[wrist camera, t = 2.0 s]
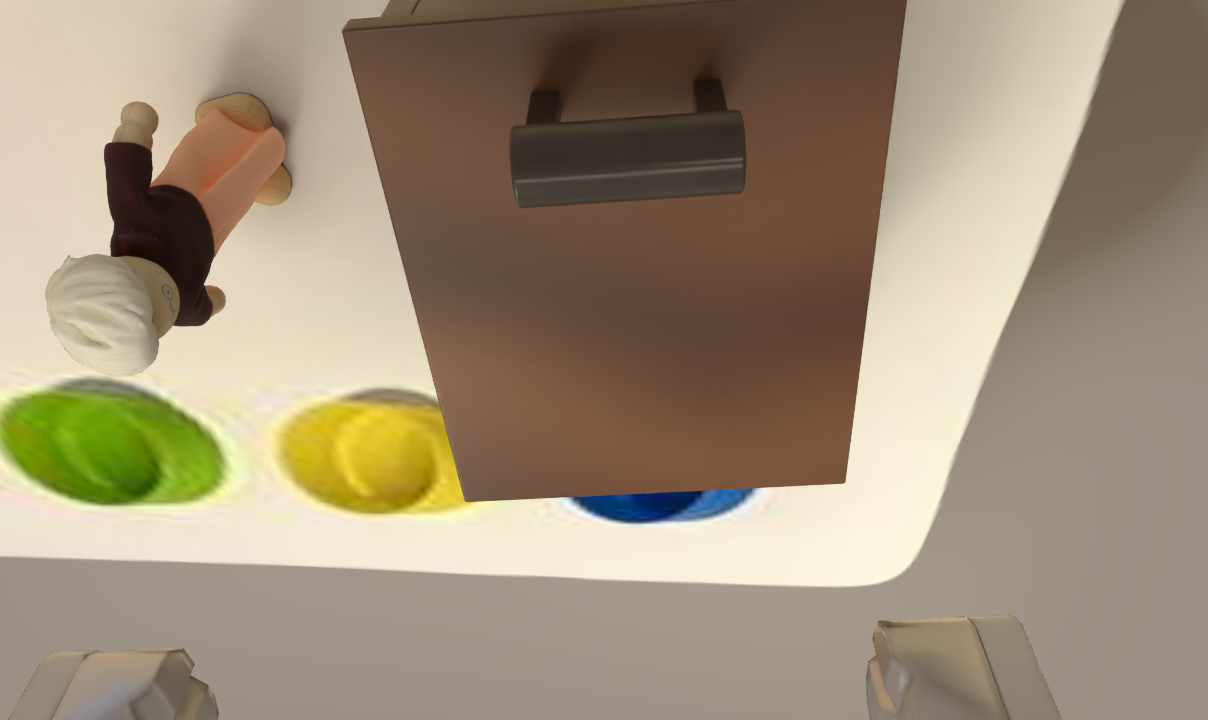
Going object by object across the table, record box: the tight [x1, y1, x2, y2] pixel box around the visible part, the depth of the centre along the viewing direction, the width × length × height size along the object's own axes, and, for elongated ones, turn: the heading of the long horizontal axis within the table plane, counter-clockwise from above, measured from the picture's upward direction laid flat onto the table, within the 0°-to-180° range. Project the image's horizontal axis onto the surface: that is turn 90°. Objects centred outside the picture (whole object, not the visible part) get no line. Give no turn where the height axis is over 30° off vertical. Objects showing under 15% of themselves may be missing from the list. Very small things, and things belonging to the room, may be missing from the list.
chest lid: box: [342, 0, 907, 502], centre depth 25 cm, size 17×13×5 cm
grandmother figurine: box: [45, 93, 291, 377], centre depth 29 cm, size 8×4×13 cm, turn 13°
